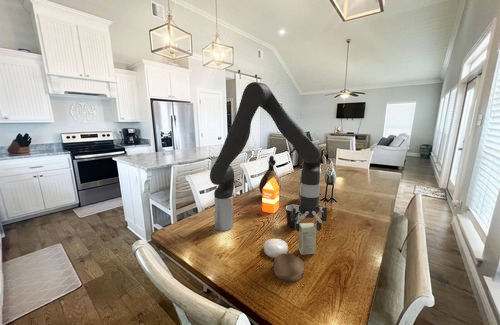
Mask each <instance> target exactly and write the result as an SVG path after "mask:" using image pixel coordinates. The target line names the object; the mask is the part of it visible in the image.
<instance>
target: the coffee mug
mask: <svg viewBox="0 0 500 325" xmlns="http://www.w3.org/2000/svg"><path fill="white" fill-rule="evenodd" d="M292 206H294V207H299V205H298V204H289V205H286V206H285V214H286V225H287V227H288V228H290V229H292V230H293V229H294V230H296V229H295V222H292V220H291V209H292ZM299 213H300V211H299V210H298V211H297V213H296V214H295V218H296V217H297V216H298V214H299ZM299 223H301V221H300V222H299Z"/></svg>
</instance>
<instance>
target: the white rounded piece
mask: <svg viewBox="0 0 500 325" xmlns="http://www.w3.org/2000/svg"><path fill="white" fill-rule="evenodd" d="M288 246H289V245H288V243H287V242H286V241H284V240H283V239H280V238H270V239H267V240H266V241H265V242H264V243H263V251H264V254H265V255H266V256H268V257H269V258H272V259H275V258H276V257H277V256H279V255H281V254H288V251H289V249H288Z"/></svg>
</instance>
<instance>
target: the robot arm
mask: <svg viewBox="0 0 500 325" xmlns="http://www.w3.org/2000/svg"><path fill="white" fill-rule="evenodd" d="M259 107H260V108H261V109H263V110H264V111H265V112H266V113H267V114H268V115H269V117H270V118H271V119H272V121H273V122H274V124H275V126H276V129H278V131H279V132H280V133H281V135H282V136H283V137H284V138H285V139H286V140H287V141H288V142H289V144H291V146H292V147H293V149H294V150H295V152H296V154H298V156H299V158H300V159H302V161H303V164H302V165H303V166H302V170H301V173H300V174H301V176H300V177H301V186H300V185H299V191H300V198H299V205H298V206H299V207H294V206H292V209H291V220H292V222H295V229H294V230H295V231H297V232H298V233H299V222H300V223H301V221H303V220H304V218H305V219H309V218H310V219H313V218H315V219H316V225H315V227H316V232H320V231H322V223H323V222H328V217H327V216H328V213H327V212H328V211H327V207H326V206H325V205H321V206H320V192H321V189H320V175H321V171H320V170H321V161H322V148H321V146H320V145H318V143H315V142H313V141H311V140H310V138H309V137H308V136H307V133H306V132H305V130H304V129H303V128H302V127H301V126H300V125H299V124H298V122H296V121H295V120H294V119H293V118H292V117H291V115H290V114H289V113H288V112H287V111H286V109H285V108H284V107H283V106H282V105H281V103H280V102H279V100H278V99H277V98H276V96H275V94H274V93H273V91H272V90H271V88H270V86H268V85H267V84H266V83H263V82H257V81H254V82H250V83H248V84H247V85H246V86H245V87H244V89H243V92H242V95H241V99H240V102H239V106H238V107H237V108H238V109H237V112H236V113H235V114H236V115H235V116H234V119H233V122H232V123H231V126H230V128H229V130H228V133H227V135H226V138H225V141H224V142H223V145H222V148H221V150H220V152H219V153H218V154H219V155H218V157H217V158H216V160H215V162H214V164H213V166H212V167H211V168H210V172H209V179H210V182H211V183H212V185H216V186H217V187H216V189H215V190H214V192H213V194H214V195H213V196H214V197H213V199H214V214H213V216H214V230H217V231H220V232H221V231H222V232H227V231H229V230H230V231H231V229H233V227H234V207H233V206H234V204H233V198H234V197H233V193H234V189H235V171H234V168H233V167H232V166H231V164H232V162H233V161H235V159H236V158H237V157H238V156H239V155H240V154H241V153H242V152H243V150H244V149H245V147H246V145H247V142H248V141H249V139H250V136H251V135H250V134H251V126H252V120H253V118H254V117H255V114H256V113H257V110H258V109H259ZM298 210H299V211H300V213H299V214H298V216H297V217H296V218H295V214H296V213H297V211H298ZM319 212H321V217H320V216H319V215H318V213H319Z"/></svg>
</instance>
